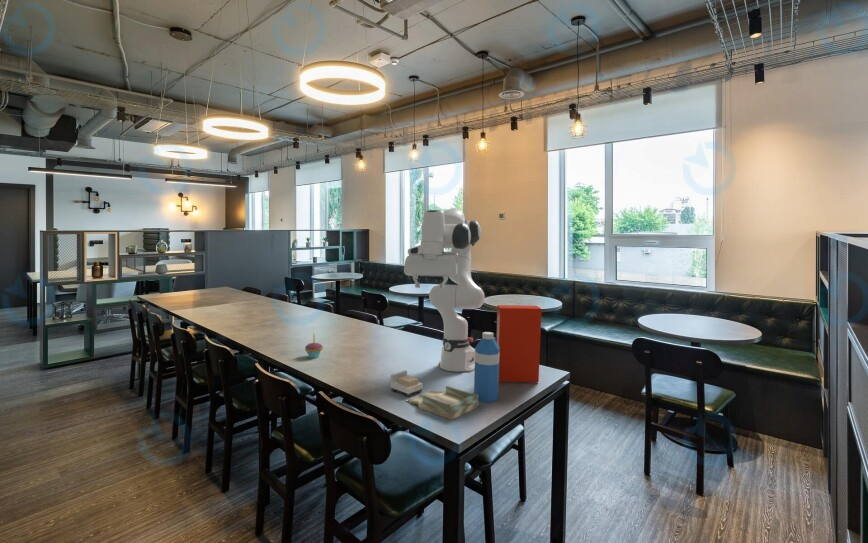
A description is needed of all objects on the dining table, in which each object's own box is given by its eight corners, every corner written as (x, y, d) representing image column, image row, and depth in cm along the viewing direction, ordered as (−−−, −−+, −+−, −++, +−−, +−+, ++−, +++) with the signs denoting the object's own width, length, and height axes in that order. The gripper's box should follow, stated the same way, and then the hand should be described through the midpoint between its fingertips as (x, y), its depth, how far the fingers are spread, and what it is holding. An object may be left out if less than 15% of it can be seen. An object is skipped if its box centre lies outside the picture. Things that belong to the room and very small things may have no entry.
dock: (431, 392, 164) (431, 379, 164) (478, 409, 149) (479, 394, 149) (402, 404, 152) (402, 389, 152) (450, 423, 137) (451, 407, 137)
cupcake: (305, 355, 210) (305, 331, 209) (322, 354, 213) (322, 331, 212) (305, 359, 202) (305, 335, 201) (323, 358, 205) (323, 334, 204)
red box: (538, 383, 175) (541, 308, 172) (498, 382, 174) (500, 307, 172) (533, 377, 183) (536, 305, 180) (494, 376, 183) (497, 304, 180)
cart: (404, 385, 169) (405, 370, 168) (422, 392, 162) (423, 376, 162) (390, 391, 163) (390, 374, 162) (408, 397, 156) (408, 381, 156)
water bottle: (496, 393, 163) (497, 330, 161) (500, 402, 153) (502, 336, 152) (472, 392, 162) (474, 330, 160) (475, 402, 153) (477, 335, 151)
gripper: (460, 253, 156) (458, 289, 153) (409, 252, 161) (406, 288, 159) (457, 249, 150) (455, 287, 147) (403, 249, 155) (401, 286, 153)
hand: (429, 287), depth 153 cm, fingers open, 8 cm apart
